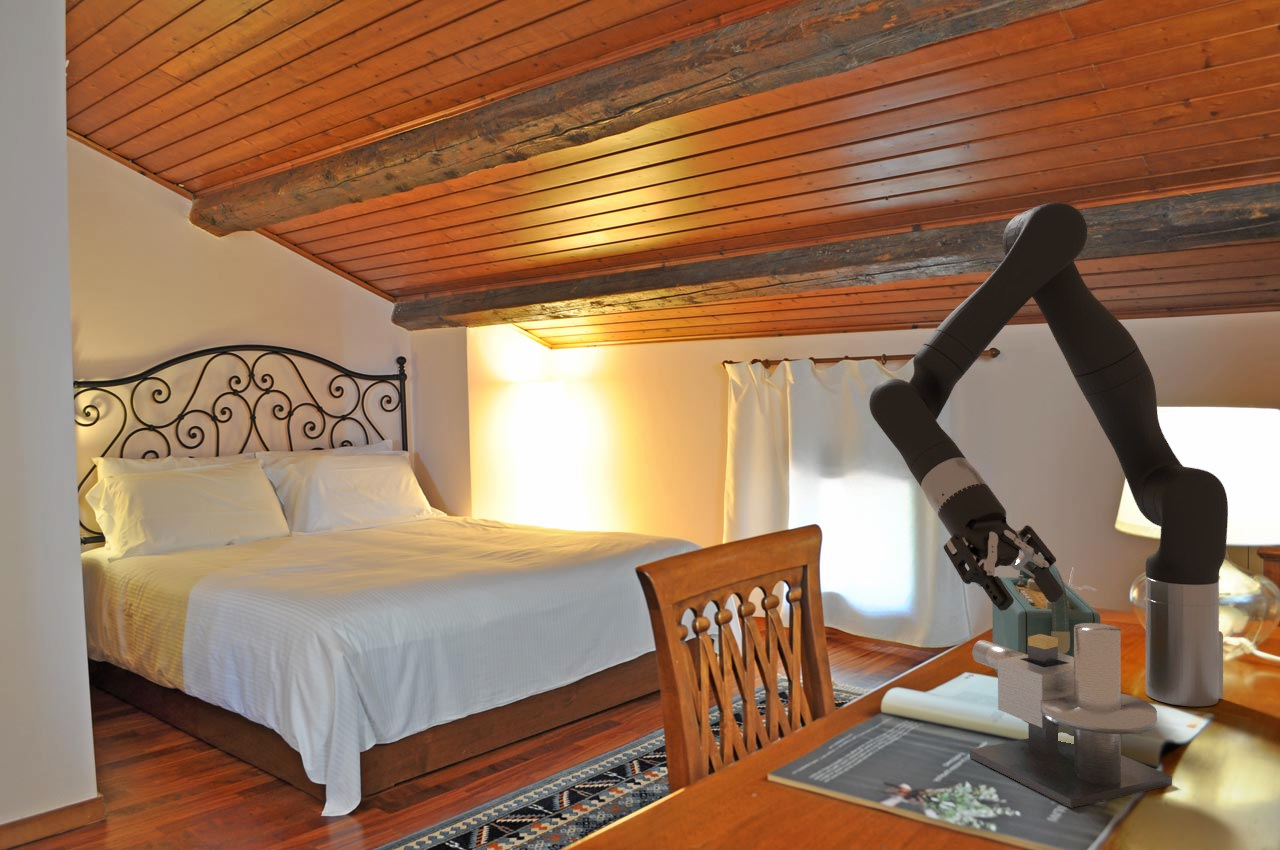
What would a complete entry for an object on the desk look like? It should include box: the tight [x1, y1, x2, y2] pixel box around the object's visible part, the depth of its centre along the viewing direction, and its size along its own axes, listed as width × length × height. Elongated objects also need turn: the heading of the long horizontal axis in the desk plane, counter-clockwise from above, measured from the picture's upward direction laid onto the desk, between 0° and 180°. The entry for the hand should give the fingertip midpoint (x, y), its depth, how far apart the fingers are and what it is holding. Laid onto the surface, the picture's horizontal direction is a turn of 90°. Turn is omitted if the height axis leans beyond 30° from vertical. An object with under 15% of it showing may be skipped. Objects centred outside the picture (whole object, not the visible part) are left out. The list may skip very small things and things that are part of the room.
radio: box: [991, 553, 1101, 676], centre depth 146 cm, size 26×11×20 cm, turn 169°
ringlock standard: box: [969, 623, 1173, 809], centre depth 119 cm, size 15×25×18 cm, turn 22°
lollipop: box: [1067, 567, 1097, 592], centre depth 181 cm, size 6×10×12 cm, turn 44°
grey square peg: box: [1027, 634, 1059, 756], centre depth 120 cm, size 2×2×14 cm
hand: (1033, 602), depth 121 cm, fingers open, 8 cm apart
